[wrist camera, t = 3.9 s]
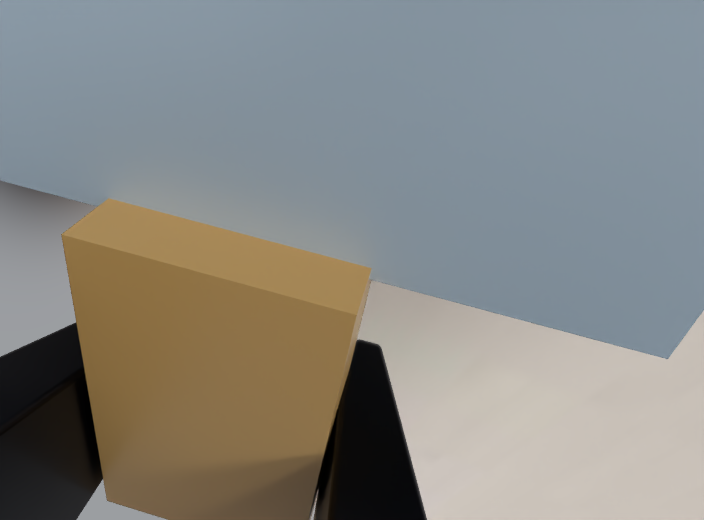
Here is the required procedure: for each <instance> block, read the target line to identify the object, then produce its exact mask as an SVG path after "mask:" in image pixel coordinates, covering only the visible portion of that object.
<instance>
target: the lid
mask: <svg viewBox="0 0 704 520" xmlns="http://www.w3.org/2000/svg"><path fill="white" fill-rule="evenodd" d="M0 181H4V182H8V183H11V184H15V185H19V186H23V187H26V188H30V189H34V190H38V191H41V192H45V193H49V194H52V195H56V196H60V197H64V198H67V199H71V200H75V201H79V202H82V203H86V204H90V205H94V206H97V207H96V208H95V209H94V210H93V211H91V212H90V213H89V214H87V215H86V216H85V217H84V218H82V219H81V220H80V221H78V222H77V223H76V224H74V225H73V226H72V227H71V228H69V229H68V230H66V231H65V232H64V233H63V234H61V235H62V240H63V246H64V253H65V258H66V264H67V270H68V276H69V282H70V288H71V294H72V299H73V305H74V311H75V316H76V323H77V329H78V334H79V340H80V346H81V352H82V358H83V364H84V369H85V375H86V381H87V387H88V393H89V399H90V404H91V410H92V416H93V422H94V428H95V434H96V439H97V445H98V451H99V457H100V463H101V469H102V474H103V480H104V486H105V492H106V498H107V501H109V502H113V503H116V504H119V505H122V506H126V507H129V508H132V509H136V510H138V511H142V512H145V513H148V514H152V515H155V516H158V517H161V518H165V519H168V520H310V519H311V516H312V512H313V509H314V505H315V502H316V498H317V494H318V488H319V484H320V480H321V476H322V471H323V467H324V463H325V459H326V455H327V451H328V446H329V442H330V438H331V434H332V430H333V426H334V422H335V417H336V413H337V409H338V406H339V402H340V399H341V395H342V392H343V389H344V385H345V382H346V379H347V376H348V372H349V369H350V365H351V361H352V357H353V353H354V349H355V345H356V340H357V336H358V332H359V328H360V324H361V320H362V316H363V312H364V308H365V304H366V300H367V296H368V291H369V287H370V283H371V280H374V281H378V282H381V283H385V284H389V285H393V286H396V287H400V288H404V289H407V290H411V291H415V292H419V293H422V294H426V295H430V296H434V297H437V298H441V299H445V300H449V301H452V302H456V303H460V304H464V305H467V306H471V307H475V308H479V309H482V310H486V311H490V312H493V313H497V314H501V315H505V316H508V317H512V318H516V319H520V320H523V321H527V322H531V323H535V324H538V325H542V326H546V327H550V328H553V329H557V330H561V331H564V332H568V333H572V334H576V335H579V336H583V337H587V338H591V339H594V340H598V341H602V342H606V343H609V344H613V345H617V346H621V347H624V348H628V349H632V350H635V351H639V352H643V353H647V354H650V355H654V356H658V357H662V358H665V359H668V358H669V357H670V355H671V354H672V353H673V351H674V350H675V348H676V347H677V346H678V344H679V343H680V342H681V340H682V339H683V338H684V336H685V335H686V333H687V332H688V331H689V329H690V328H691V327H692V325H693V324H694V323H695V321H696V320H697V318H698V317H699V316H700V314H701V313H702V312H703V310H704V0H0Z"/></svg>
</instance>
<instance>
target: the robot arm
mask: <svg viewBox="0 0 704 520" xmlns="http://www.w3.org/2000/svg"><path fill="white" fill-rule="evenodd" d="M102 479H103V474H102V469H101V463H100V457H99V451H98V445H97V439H96V434H95V428H94V422H93V416H92V410H91V404H90V399H89V393H88V387H87V381H86V375H85V369H84V364H83V358H82V352H81V346H80V340H79V334H78V329H77V323H74V324H72V325H69V326H67V327H65V328H63V329H61V330H59V331H56V332H54V333H52V334H50V335H47V336H46V337H43V338H41V339H39V340H36V341H34V342H32V343H30V344H28V345H26V346H23V347H21V348H19V349H17V350H14V351H12V352H10V353H8V354H6V355H3V356H1V357H0V520H76V519H77V518H78V516H79V515H80V513H81V512H82V510H83V509H84V507H85V505H86V504H87V502H88V501H89V499H90V498H91V496H92V495H93V493H94V492H95V490H96V488H97V487H98V486H99V484H100V483H101V481H102ZM314 520H427V518H426V514H425V510H424V507H423V503H422V499H421V495H420V491H419V488H418V484H417V480H416V476H415V473H414V469H413V465H412V461H411V458H410V454H409V450H408V446H407V442H406V439H405V435H404V431H403V427H402V424H401V420H400V416H399V412H398V409H397V405H396V401H395V397H394V393H393V390H392V386H391V382H390V378H389V375H388V371H387V367H386V363H385V359H384V356H383V352H382V349H381V347H380V346H379V345H378V344H375V343H371V342H368V341H364V340H360V339H359V340H357V341H356V345H355V349H354V353H353V357H352V361H351V365H350V369H349V372H348V376H347V379H346V382H345V385H344V389H343V392H342V395H341V399H340V402H339V406H338V409H337V413H336V417H335V422H334V426H333V430H332V434H331V438H330V442H329V446H328V451H327V455H326V459H325V463H324V467H323V471H322V476H321V480H320V484H319V488H318V494H317V501H316V508H315V514H314Z"/></svg>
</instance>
